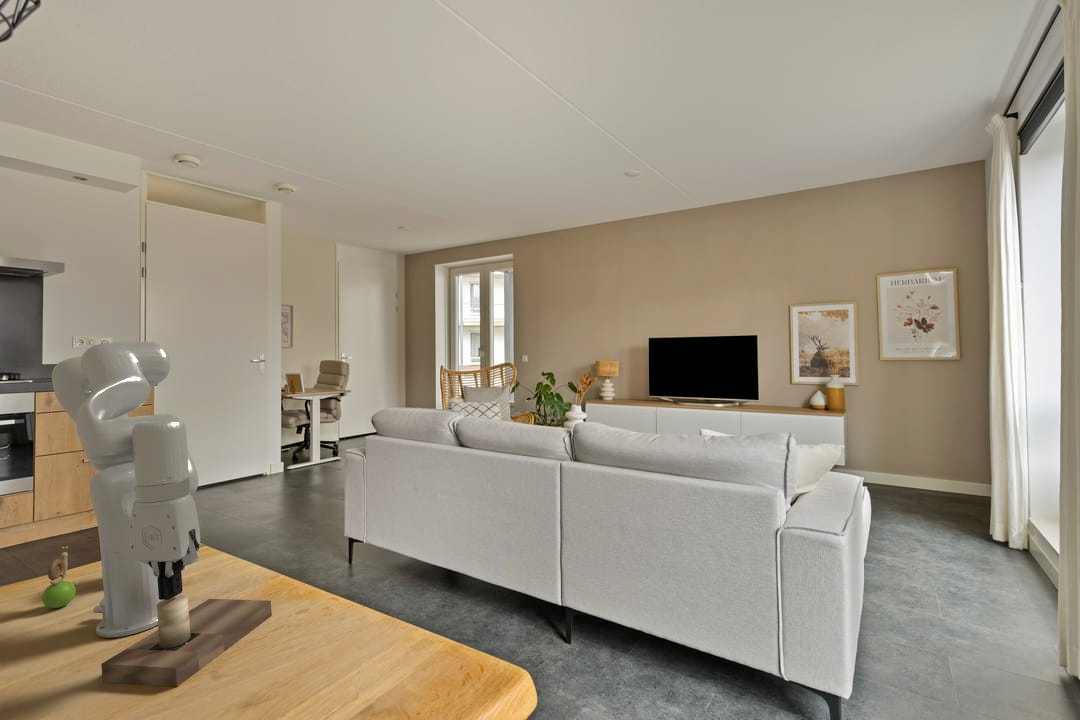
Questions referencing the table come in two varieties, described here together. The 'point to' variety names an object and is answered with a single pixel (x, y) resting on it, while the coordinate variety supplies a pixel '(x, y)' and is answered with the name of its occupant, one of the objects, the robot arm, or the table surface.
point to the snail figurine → (58, 584)
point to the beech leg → (173, 623)
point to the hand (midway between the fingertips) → (171, 596)
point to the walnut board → (210, 636)
